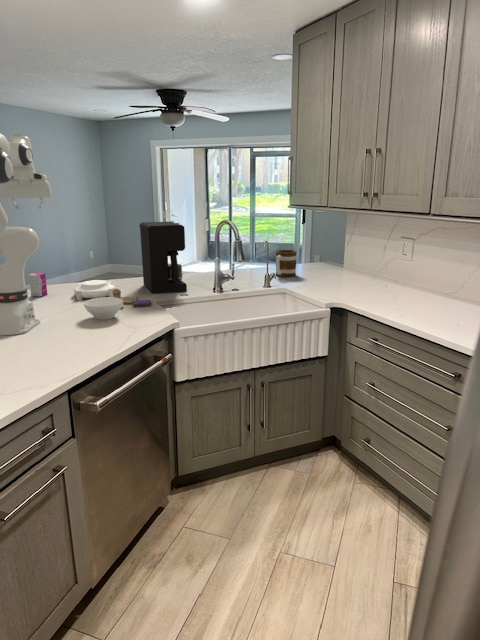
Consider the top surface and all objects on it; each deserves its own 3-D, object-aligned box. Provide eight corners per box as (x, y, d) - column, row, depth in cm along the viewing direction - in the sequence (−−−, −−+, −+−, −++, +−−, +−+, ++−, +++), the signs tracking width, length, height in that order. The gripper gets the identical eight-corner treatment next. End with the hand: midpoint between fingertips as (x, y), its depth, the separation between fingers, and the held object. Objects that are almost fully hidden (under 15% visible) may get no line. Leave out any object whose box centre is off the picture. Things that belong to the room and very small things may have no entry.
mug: (280, 272, 293) (280, 249, 288) (300, 274, 286) (300, 250, 282) (266, 278, 276) (267, 253, 272) (287, 280, 270) (288, 254, 266)
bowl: (84, 314, 200) (82, 299, 198) (121, 311, 206) (120, 295, 204) (86, 324, 186) (84, 307, 184) (126, 320, 191) (124, 304, 189)
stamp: (123, 308, 209) (121, 289, 206) (112, 309, 208) (110, 290, 205) (123, 306, 214) (122, 287, 211) (112, 306, 213) (111, 287, 210)
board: (137, 303, 217) (137, 301, 217) (111, 305, 215) (111, 303, 215) (137, 298, 229) (137, 295, 228) (113, 299, 226) (112, 297, 226)
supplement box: (41, 297, 230) (38, 275, 227) (30, 297, 231) (27, 274, 228) (48, 294, 236) (45, 272, 232) (37, 294, 237) (35, 272, 234)
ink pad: (151, 306, 213) (150, 303, 213) (133, 307, 211) (133, 304, 211) (150, 302, 220) (150, 299, 220) (133, 303, 219) (133, 300, 218)
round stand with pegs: (60, 298, 230) (58, 284, 228) (95, 289, 250) (94, 276, 248) (95, 304, 219) (94, 289, 217) (129, 293, 239) (128, 280, 237)
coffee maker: (190, 292, 239) (187, 224, 229) (153, 296, 233) (149, 226, 223) (177, 282, 264) (174, 220, 254) (143, 285, 258) (139, 221, 248)
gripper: (-4, 175, 193) (1, 209, 197) (47, 175, 198) (51, 208, 201) (0, 175, 199) (5, 208, 203) (50, 175, 203) (54, 207, 207)
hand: (28, 208), depth 202 cm, fingers open, 8 cm apart
